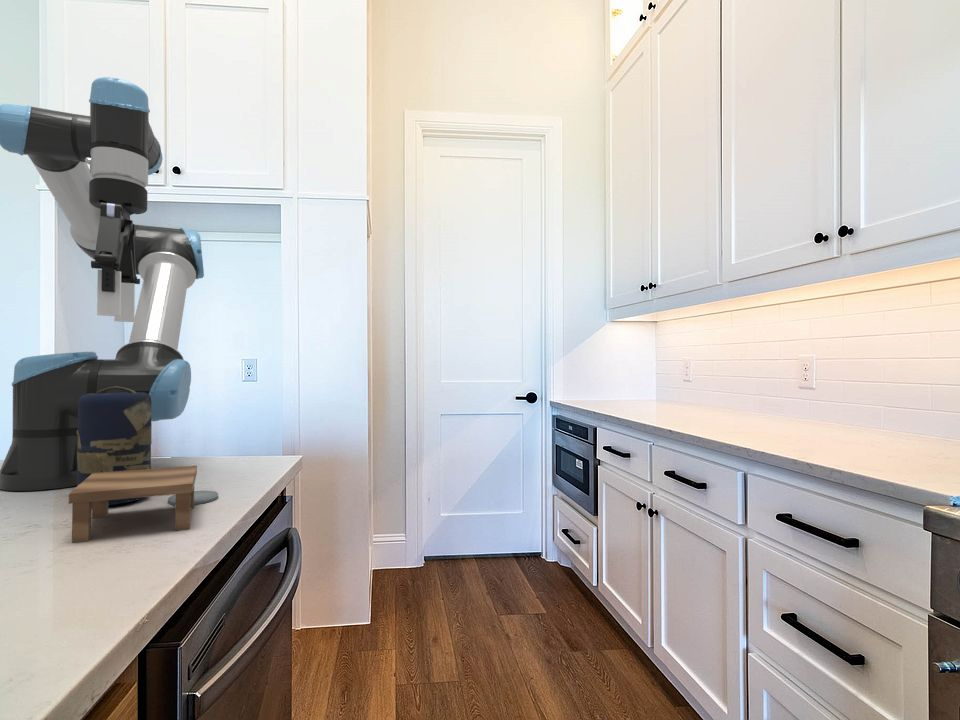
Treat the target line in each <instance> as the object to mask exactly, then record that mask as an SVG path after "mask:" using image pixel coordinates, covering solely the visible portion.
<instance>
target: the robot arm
mask: <svg viewBox="0 0 960 720" xmlns="http://www.w3.org/2000/svg"><path fill="white" fill-rule="evenodd" d="M88 102H89V107H90V108H89V109H90V110H89V111H90V112H89V113H90V114H89V115H84V114H77V113H71V112H64V111H59V110H53V109H47V108H41V107H35V106H32V105H20V104H11V103H2V104H0V147H1V148H2V149H4V151H7V152H8V153H13V154H18V155H20V156H24V155H25V156H26V155H27V156H28V158H29V160H30V161H31V162H32V164H33V165H34V167H35V169H36V171H37V173H38V174H39V175H40V176H41V178H42V180H43V182H44V183H45V185H46V187H47V188H48V190H49V192H50V193H51V195H52V196H53V198H54V201H56V202H57V205H58V206H59V208H60V209H61V211H62V212H63V214H64V216H65V217H66V219H67V221H68V222H69V225H70V228H69V231H70V232H69V233H70V235H71V237H72V239H73V240H74V242H75V244H76V245H77V246H78V248H80V250H81V251H82V252H84V253H85V255H87V256H88V257H90V258H91V259H92V260H90V267H91V268H92V269H97V288H96V289H97V292H96V293H97V294H96V296H97V301H96V302H97V303H96V309H97V310H96V315H97V316H103V317H104V316H108V317H109V316H110V317H114V322H118V323H119V322H121V323H123V322H125V323H132V328H131V332H130V336H129V340H128V342H127V343H126V344H124V345H122V346H120V348H119V349H118V350H117V352H116V354H115V355H116V356H115V359H113V358H112V359H108V358H107V359H103V358H102V359H98V358H99V357H98V355H97V352H95V351H80V352H79V351H77V352H64V353H52V354H50V353H49V354H43V355H32V356H26V357H24V358H21V359H19V360H18V361H17V362H16V363H15V364H14V368H13V369H14V370H13V380H12V382H11V386H12V437H11V438H12V441H11V444H10V446H9V449H8V451H7V453H6V456H5V458H4V460H3V463H2V465H1V467H0V490H3V491H12V492H14V491H15V492H23V491H24V492H28V491H29V492H30V491H45V490H53V489H54V490H55V489H63V488H68V487H77V448H78V434H77V431H78V400H79V398H80V397H81V396H82V395H85V394H92V393H97V392H98V391H100V390H103V389H106V388H109V387H115V386H118V387H124V388H127V389H131V390H133V391H135V392H143V393H147V394H149V395H150V397H151V406H152V410H151V422H157V421H164V420H173V419H176V418H178V417H180V415H182V413H184V410H186V409H185V408H186V406H187V403H188V399H189V396H190V392H191V391H190V387H191V382H192V370H191V369H192V368H191V365H190V363H189V362H188V360H184V356H183V355H182V353H181V352H180V351H179V343H180V336H181V329H182V322H183V317H184V316H183V315H184V309H185V308H184V307H185V302H186V295H187V291H188V289H189V288H190V287H192V286H193V285H194V283H195V282H196V280H199V279H203V278H205V273H204V270H205V269H204V259H203V249H202V240H201V235H200V233H199V232H198V231H196V230H192V229H186V228H185V229H184V228H182V227H179V228H171V227H162V226H155V225H154V226H152V225H143V224H141V225H140V224H135V223H133V222H134V221H133V220H132V219H131V216H132V215H142V214H144V213H146V212H147V210H148V190H147V189H146V187H148V186H149V176H151V175H153V174H155V173H156V172H157V171H159V169H160V167H161V166H162V163H163V160H164V159H163V154H162V148H161V145H160V142H159V140H158V139H157V138H156V136H155V134H154V132H153V129H152V126H151V124H150V122H149V121H150V120H149V115H150V108H149V96H148V94H147V93H146V91H145V90H143V88H141V87H140V86H138V85H136V84H135V83H132V82H130V81H129V80H128V81H127V80H126V79H121V78H115V77H111V76H110V77H109V76H108V77H107V76H105V77H103V76H102V77H98V78H96V79H94V80H93V81H92V83H91V86H90V96H89V99H88ZM137 275H139V276H140V277H141V278H138V277H137ZM141 279H142V284H141V289H140V293H139V296H138V297H139V298H138V300H137V301H138V302H137V306H135V304H136V303H135V302H136V298H135V297H136V285H140V283H141ZM135 308H136V309H135ZM117 392H128V391H124V390H121V389H111V390H108V391H106V392H105V393H117Z"/></svg>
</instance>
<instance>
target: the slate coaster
mask: <svg viewBox="0 0 960 720" xmlns="http://www.w3.org/2000/svg"><path fill="white" fill-rule="evenodd" d="M218 499H219V492H217V491H215V490H214V491H213V490H194V506H196V505H203V504H206V503H212V502H214V501H216V500H218ZM167 503H168V504H169V505H171V506H176V494H173V495H171V496H170V495H169V496H168V498H167Z"/></svg>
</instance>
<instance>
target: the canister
mask: <svg viewBox="0 0 960 720" xmlns="http://www.w3.org/2000/svg"><path fill="white" fill-rule="evenodd" d="M111 389H121V390H124V391H128V392H117V393H105V392H106V391H108V390H111ZM151 410H152V406H151V397H150V395H149V394H147V393H143V392H135V391H133V390H131V389H127V388H124V387H118V386H115V387H109V388H106V389H103V390H100V391H98V392H97V393H92V394H85V395H82V396H81V397H80V398H79V400H78V431H77V434H78V448H77V485H76V487H77V486H78V485H80V484H81V483H82V482H83V481H84V480H85V479H86V478H88V477H89V476H90V475H91V474H92V473H98V472H113V471H127V470H141V469H152V452H151V451H152V428H153V427H152V424H153V423H152V421H151ZM143 498H144V497H139V498H128V499H117V500H108V506H110V505H119V504H125V503H131V502H134V501H138V500H141V499H143Z"/></svg>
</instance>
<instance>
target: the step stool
mask: <svg viewBox="0 0 960 720" xmlns="http://www.w3.org/2000/svg"><path fill="white" fill-rule="evenodd" d="M197 469H198V466H197V465H190V466H189V465H188V466H187V465H186V466H184V465H183V466H174V467H173V466H172V467H157V468H151V469H141V470H127V471H113V472H98V473H92V474H91V475H90V476H89V477H88V478H86V479H85V480H84V481H83V482H82V483H81V484H80V485H78V486H77V485H76V486H75V488H74V489H72V491H71V492H69V493H68V504H69V505H70V504H72V506H71V507H72V508H71V509H72V510H71V513H72V514H71V515H72V516H71V519H72V521H71V523H72V524H71V543H72V544H73V543H81V542H89V540H90V539H91V538H92V519H99V518H106V517H107V516H108V515H109V505H108V500H117V499H128V498H139V497H143V498H149V497H158V496H159V497H160V496H168V495H169V496H170V495H171V496H172V495H175V494H176V505H175V520H174V521H175V522H174V523H175V526H174V527H175V531H184V530H185V531H186V530H190V528H191V509H194V506H195V505H194V491H195V483H196V479H197V475H198V473H197V472H198V470H197Z"/></svg>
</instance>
